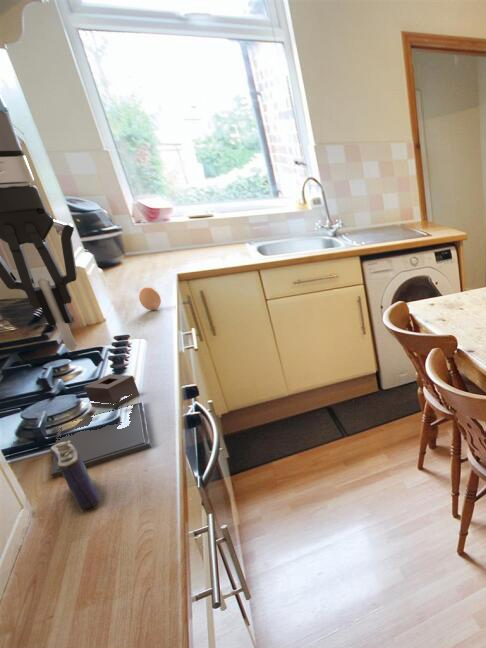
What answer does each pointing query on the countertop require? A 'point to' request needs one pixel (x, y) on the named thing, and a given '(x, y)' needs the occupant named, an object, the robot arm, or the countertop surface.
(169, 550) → the countertop surface
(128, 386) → the holder
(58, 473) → the plate
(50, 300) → the stylus
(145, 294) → the egg
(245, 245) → the countertop surface
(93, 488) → the flask
